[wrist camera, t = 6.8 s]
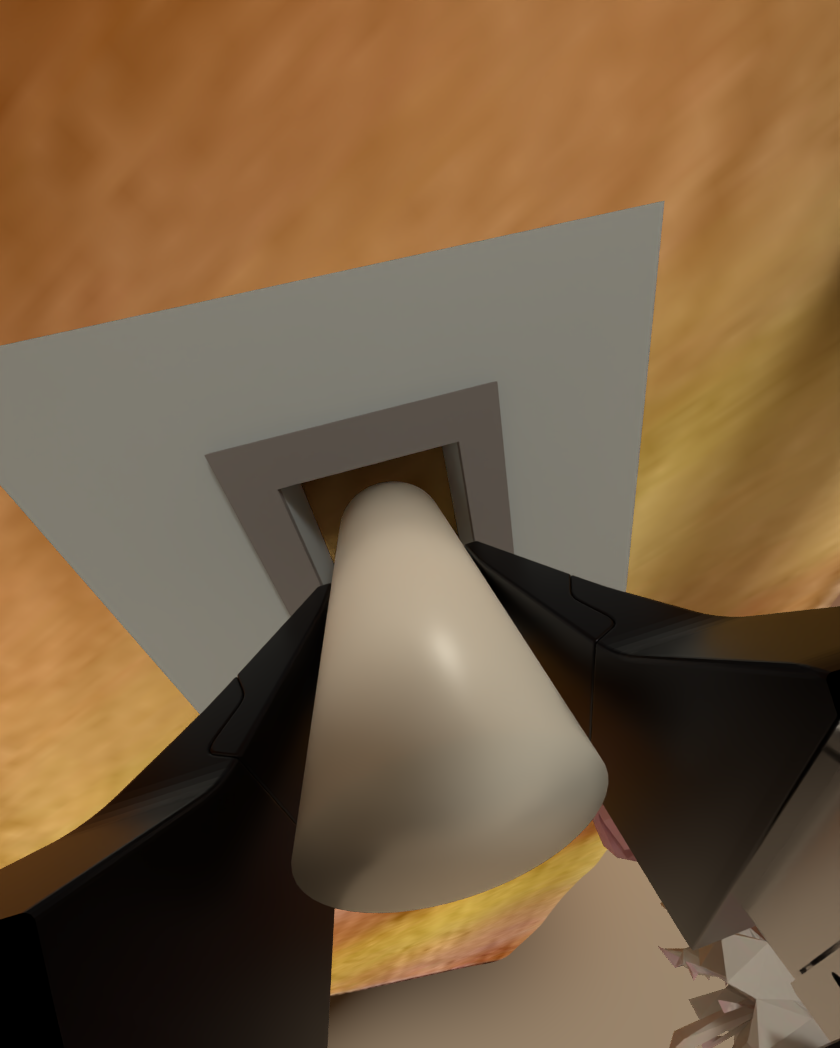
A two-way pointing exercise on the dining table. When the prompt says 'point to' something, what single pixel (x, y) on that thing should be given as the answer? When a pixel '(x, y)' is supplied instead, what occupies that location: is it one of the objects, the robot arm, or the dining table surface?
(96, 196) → the dining table surface
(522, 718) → the peg
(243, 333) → the socket plate
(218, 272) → the dining table surface
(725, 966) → the flower
